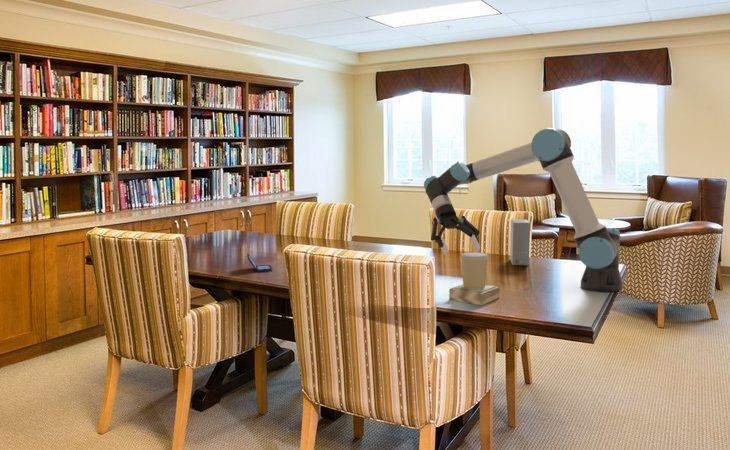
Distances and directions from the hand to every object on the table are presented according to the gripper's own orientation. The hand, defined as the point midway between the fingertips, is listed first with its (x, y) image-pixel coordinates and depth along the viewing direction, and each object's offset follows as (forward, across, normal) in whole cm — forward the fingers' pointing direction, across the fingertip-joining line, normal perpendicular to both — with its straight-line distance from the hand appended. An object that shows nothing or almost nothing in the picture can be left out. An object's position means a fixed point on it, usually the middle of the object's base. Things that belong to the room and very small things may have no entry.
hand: (462, 251), depth 224 cm
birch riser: (+19, +2, -3) cm, 19 cm away
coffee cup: (+16, +2, 0) cm, 16 cm away
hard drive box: (-17, -52, -39) cm, 67 cm away
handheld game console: (-43, +65, -62) cm, 100 cm away
